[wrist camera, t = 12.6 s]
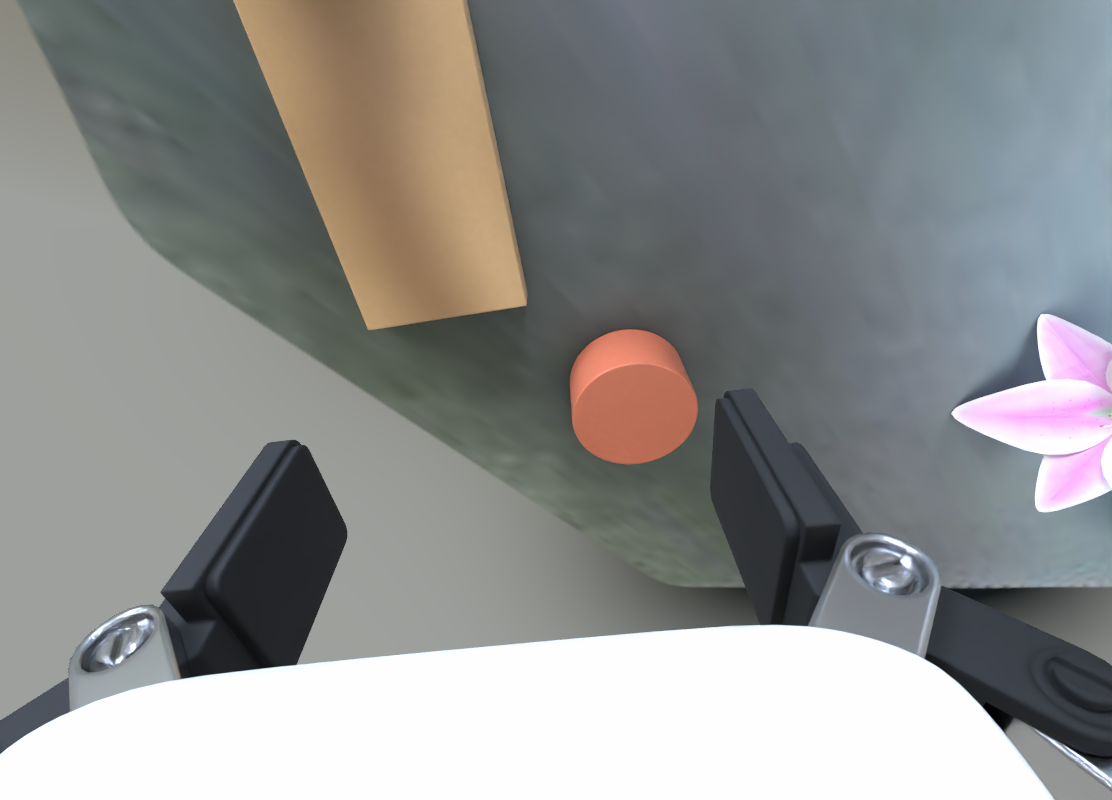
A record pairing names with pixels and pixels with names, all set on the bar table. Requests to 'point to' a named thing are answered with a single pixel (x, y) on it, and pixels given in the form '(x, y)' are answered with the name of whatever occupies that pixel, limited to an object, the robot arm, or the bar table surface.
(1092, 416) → the lily
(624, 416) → the terracotta disc
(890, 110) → the bar table surface
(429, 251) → the board
